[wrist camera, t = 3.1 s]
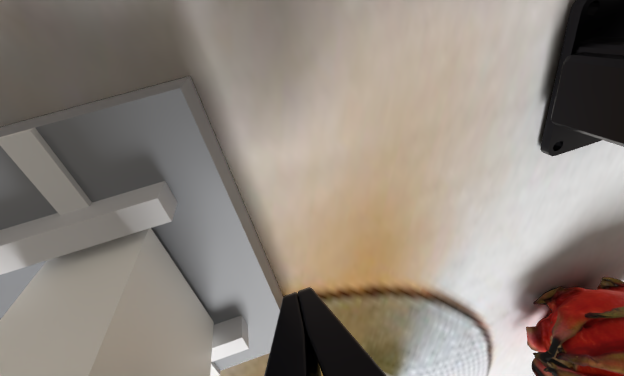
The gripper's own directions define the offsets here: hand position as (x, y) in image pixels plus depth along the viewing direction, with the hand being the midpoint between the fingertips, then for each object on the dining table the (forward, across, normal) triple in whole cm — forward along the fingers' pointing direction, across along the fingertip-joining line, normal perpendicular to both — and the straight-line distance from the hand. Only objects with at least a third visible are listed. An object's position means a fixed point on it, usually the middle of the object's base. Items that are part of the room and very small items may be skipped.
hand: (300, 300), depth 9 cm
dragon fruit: (+5, -18, +16) cm, 24 cm away
